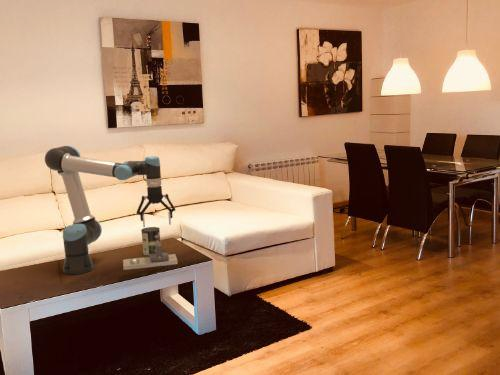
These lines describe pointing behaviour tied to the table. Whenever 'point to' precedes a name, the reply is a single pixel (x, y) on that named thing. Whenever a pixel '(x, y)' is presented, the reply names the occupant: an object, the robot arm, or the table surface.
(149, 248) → the coffee can
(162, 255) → the wing knob
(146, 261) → the base plate
